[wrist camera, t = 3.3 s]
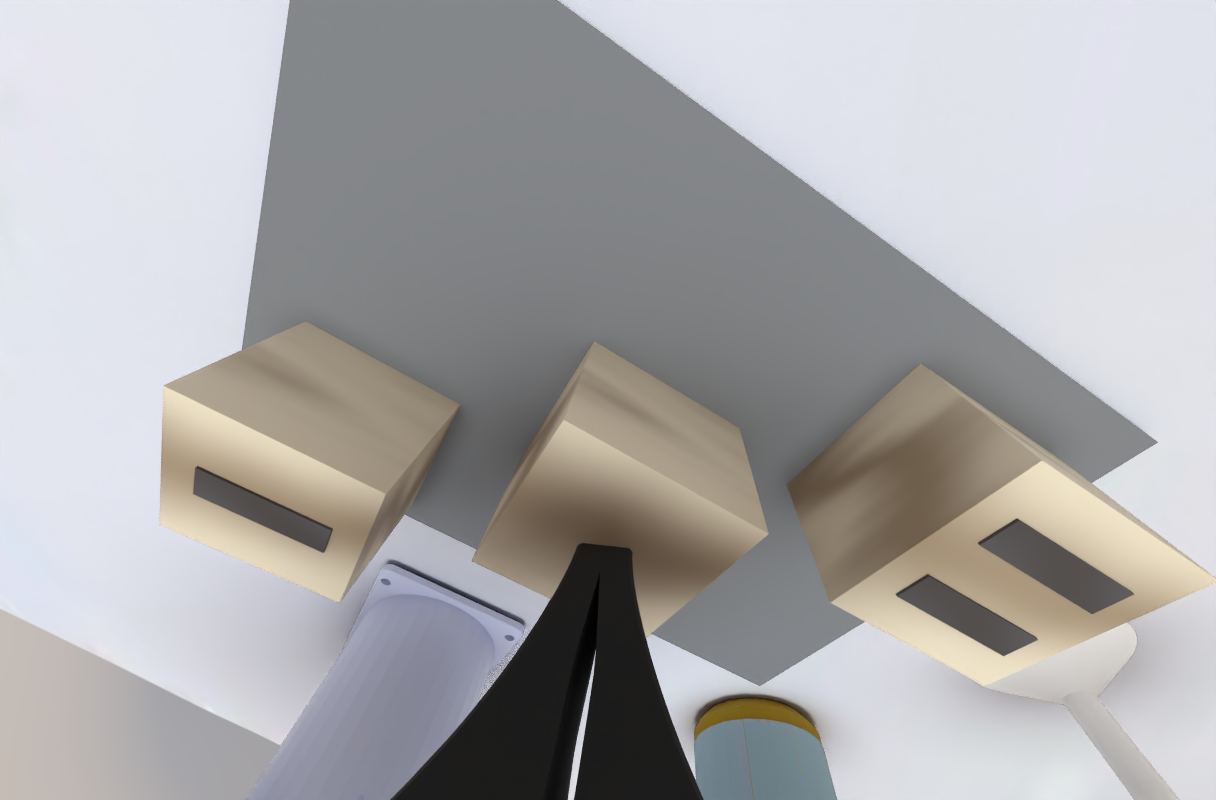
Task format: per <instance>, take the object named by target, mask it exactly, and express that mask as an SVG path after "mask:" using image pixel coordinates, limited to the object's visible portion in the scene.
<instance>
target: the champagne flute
mask: <svg viewBox="0 0 1216 800" xmlns="http://www.w3.org/2000/svg"><path fill="white" fill-rule="evenodd" d="M1136 646H1137V635H1136V633H1135V631H1134V629H1133V627H1132V626H1131V625H1130V624H1128V623H1124V624H1122V625H1120V626H1118V627H1116V628H1113V629H1111V630H1109V631H1107V632H1104V633H1102V634H1100V635H1098V636H1095V637H1093V638H1091V639H1089V640H1087V641H1084V642H1082V643H1080V644H1078V645H1075V646H1073V647H1071V648H1069V649H1066V650H1064V651H1062V652H1060V653H1058V654H1055V655H1053V656H1051V657H1049V658H1046V659H1044V660H1042V661H1040V662H1037V663H1035V664H1033V665H1031V666H1029V667H1026V668H1024V669H1022V670H1020V671H1017V672H1015V673H1013V674H1011V675H1008V676H1006V677H1004V678H1002V679H1000V680H997V681H995V682H993V683H991V684H988V685H986V686H984V687H986V688H989V689H992V690H995V691H999V692H1004V693H1009V694H1014V695H1018V696H1023V697H1028V698H1033V699H1038V700H1043V701H1048V702H1053V703H1058V704H1063V705H1065V706H1066V707H1067V709H1068V710H1069V711H1070V713H1071V714H1072V715H1073V717H1074V718H1075V719H1076V721H1077V722H1078V724H1079V725H1080V726H1081V728H1082V729H1083V730H1084V732H1085V733H1086V735H1087V736H1088V737H1089V739H1090V740H1091V741H1092V743H1093V744H1094V745H1095V747H1096V748H1097V750H1098V751H1099V752H1100V754H1101V755H1102V756H1103V758H1104V759H1105V760H1106V762H1107V763H1108V765H1109V766H1110V767H1111V769H1112V770H1113V771H1114V773H1115V774H1116V776H1117V777H1118V778H1119V780H1120V781H1121V782H1122V784H1123V785H1124V786H1125V788H1126V789H1127V791H1128V792H1129V793H1130V795H1131V796H1132V797H1133V799H1134V800H1180V799H1179V798H1178V797H1177V796H1176V794H1175V793H1174V792H1173V791H1172V789H1171V788H1170V787H1169V786H1168V784H1167V783H1166V782H1165V781H1164V779H1163V778H1162V777H1161V776H1160V774H1159V773H1158V772H1157V771H1156V769H1155V768H1154V767H1153V766H1152V764H1151V763H1150V762H1149V761H1148V760H1147V758H1146V757H1145V756H1144V755H1143V753H1142V752H1141V751H1140V750H1139V748H1138V747H1137V746H1136V745H1135V743H1134V742H1133V741H1132V740H1131V738H1130V737H1129V736H1128V735H1127V733H1126V732H1125V731H1124V730H1123V728H1122V727H1121V726H1120V725H1119V723H1118V722H1117V721H1116V720H1115V718H1114V717H1113V716H1112V715H1111V713H1110V712H1109V711H1108V710H1107V708H1106V707H1105V706H1104V705H1103V703H1102V702H1101V701H1100V700H1099V698H1098V696H1099V695H1100V694H1101V693H1102V691H1103V690H1104V689H1105V688H1106V686H1107V685H1108V684H1109V683H1110V682H1111V680H1112V679H1113V678H1114V677H1115V676H1116V674H1117V673H1118V672H1119V671H1120V670H1121V668H1122V667H1123V666H1124V665H1125V664H1126V662H1127V661H1128V660H1129V659H1130V657H1131V656H1132V655H1133V653H1134V651H1135V648H1136ZM970 679H971V678H970ZM973 681H974V680H973ZM974 682H976V681H974ZM976 683H977V684H979V685H982V684H980V683H978V682H976ZM982 686H983V685H982Z"/></svg>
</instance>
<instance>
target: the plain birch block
mask: <svg viewBox="0 0 1216 800" xmlns="http://www.w3.org/2000/svg"><path fill="white" fill-rule="evenodd" d="M768 534H769V533H768V530H767V526H766V522H765V519H764V515H763V511H762V508H761V504H760V500H759V497H758V493H757V490H756V486H755V482H754V479H753V475H752V471H751V468H750V464H749V461H748V457H747V453H746V450H745V446H744V442H743V439H742V435H741V432H740V428H739V427H737V426H735V425H734V424H732V423H730V422H729V421H727V420H725V419H724V418H722V417H720V416H719V415H717V414H715V413H714V412H712V411H710V410H709V409H707V408H705V407H704V406H702V405H700V404H699V403H697V402H695V401H694V400H692V399H690V398H689V397H687V396H685V395H684V394H682V393H680V392H679V391H677V390H675V389H674V388H672V387H670V386H669V385H667V384H665V383H664V382H662V381H660V380H659V379H657V378H655V377H654V376H652V375H650V374H649V373H647V372H645V371H644V370H642V369H640V368H639V367H637V366H635V365H634V364H632V363H630V362H628V361H627V360H625V359H623V358H622V357H620V356H618V355H617V354H615V353H613V352H612V351H610V350H608V349H607V348H605V347H603V346H602V345H600V344H598V343H597V342H595V341H594V342H593V344H592V345H591V347H590V349H589V350H588V352H587V353H586V355H585V357H584V358H583V360H582V361H581V363H580V365H579V366H578V368H577V369H576V371H575V373H574V374H573V376H572V378H571V379H570V381H569V382H568V384H567V386H566V387H565V389H564V390H563V392H562V394H561V395H560V397H559V398H558V400H557V402H556V403H555V405H554V406H553V408H552V410H551V411H550V413H549V414H548V416H547V418H546V419H545V421H544V422H543V424H542V426H541V427H540V429H539V430H538V432H537V434H536V435H535V437H534V438H533V440H532V442H531V443H530V445H529V446H528V448H527V450H526V451H525V453H524V454H523V456H522V458H521V459H520V461H519V463H518V465H517V467H516V470H515V472H514V474H513V476H512V478H511V480H510V482H509V484H508V486H507V488H506V490H505V492H504V494H503V497H502V499H501V501H500V503H499V505H498V507H497V509H496V511H495V513H494V515H493V517H492V519H491V521H490V524H489V526H488V528H487V530H486V532H485V534H484V536H483V538H482V540H481V542H480V544H479V546H478V548H477V551H476V553H475V555H474V557H473V559H472V562H475V563H477V564H479V565H481V566H483V567H485V568H487V569H489V570H491V571H493V572H496V573H498V574H500V575H502V576H504V577H506V578H508V579H510V580H512V581H514V582H516V583H519V584H521V585H523V586H525V587H527V588H529V589H531V590H533V591H535V592H537V593H540V594H542V595H544V596H546V597H548V598H550V599H551V598H552V596H553V595H554V593H555V591H556V589H557V588H558V586H559V584H560V582H561V580H562V578H563V576H564V574H565V572H566V571H567V568H568V566H569V564H570V562H571V560H572V558H573V555H574V553H575V551H576V548H577V545H579V544H581V543H588V544H597V545H606V546H616V547H625V548H629V549H630V550H631V551H632V552H633V555H632V561H633V576H634V584H635V590H636V596H637V602H638V607H639V611H640V616H641V620H642V624H643V629H644V633H645V637H648V636H649V635H650V634H651V633H652V632H654V631H655V630H656V629H657V628H658V627H659V626H661V625H662V624H663V623H664V622H665V621H667V620H668V619H669V618H670V617H671V616H672V615H674V614H675V613H676V612H677V611H678V610H680V609H681V608H682V607H683V606H684V605H685V604H687V603H688V602H689V601H690V600H691V599H693V598H694V597H695V596H696V595H697V594H698V593H700V592H701V591H702V590H703V589H704V588H706V587H707V586H708V585H709V584H710V583H711V582H713V581H714V580H715V579H716V578H717V577H719V576H720V575H721V574H722V573H723V572H724V571H726V570H727V569H728V568H729V567H730V566H732V565H733V564H734V563H735V562H736V561H737V560H739V559H740V558H741V557H742V556H743V555H745V554H746V553H747V552H748V551H749V550H750V549H752V548H753V547H754V546H755V545H756V544H757V543H759V542H760V541H761V540H762V539H763V538H765V537H766V536H767V535H768Z"/></svg>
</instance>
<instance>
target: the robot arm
mask: <svg viewBox="0 0 1216 800" xmlns="http://www.w3.org/2000/svg"><path fill="white" fill-rule="evenodd" d="M632 555H633V552H632V551H631V550H630V549H629V548H625V547H616V546H606V545H597V544H588V543H581V544H579V545H577V548H576V551H575V553H574V555H573V558H572V560H571V562H570V564H569V566H568V568H567V571H566V572H565V574H564V576H563V578H562V580H561V582H560V584H559V586H558V588H557V589H556V591H555V593H554V595H553V596H552V598H551V600H550V601H549V603H548V605H547V606H546V608H545V610H544V611H543V613H542V615H541V616H540V618H539V620H538V621H537V623H536V624H535V626H534V627H533V629H532V630H531V632H530V633H529V635H528V636H527V638H526V639H525V641H524V642H523V644H522V645H521V647H520V648H519V650H518V651H517V653H516V654H515V655H514V657H513V658H512V660H511V661H510V662H509V664H508V665H507V666H506V668H505V669H504V670H503V672H502V673H501V674H500V676H499V677H498V678H497V680H496V681H495V682H494V684H493V685H492V686H491V687H490V689H489V690H488V691H487V693H486V694H485V695H484V696H483V698H482V699H481V700H480V701H479V698H480V695H481V692H482V689H483V686H484V683H485V681H486V678H487V675H488V674H489V673H490V672H491V671H492V670H493V669H494V667H495V666H496V665H497V664H498V663H499V662H500V661H501V660H502V658H503V657H504V656H505V655H506V654H507V653H508V652H509V651H510V649H511V648H512V647H513V646H514V645H515V644H516V643H517V642H518V640H519V639H520V638H521V637H522V635H523V632H524V626H523V625H522V624H521V623H519V622H517V621H515V620H513V619H511V618H508V617H506V616H504V615H502V614H500V613H498V612H495V611H493V610H491V609H489V608H487V607H485V606H482V605H480V604H478V603H476V602H474V601H471V600H469V599H467V598H465V597H463V596H461V595H458V594H456V593H454V592H452V591H450V590H448V589H445V588H443V587H441V586H439V585H437V584H435V583H432V582H430V581H428V580H426V579H424V578H422V577H419V576H417V575H415V574H413V573H411V572H409V571H406V570H404V569H402V568H400V567H398V566H396V565H393V564H386V565H384V566H383V567H382V569H381V570H380V572H379V574H378V576H377V578H376V580H375V582H374V584H373V586H372V588H371V591H370V593H369V595H368V597H367V599H366V601H365V603H364V605H363V607H362V609H361V611H360V613H359V616H358V618H357V620H356V622H355V624H354V626H353V628H352V630H351V632H350V634H349V636H348V639H347V641H346V643H345V645H344V647H343V651H342V653H341V654H340V656H339V657H338V659H337V660H336V662H335V663H334V665H333V667H332V668H331V670H330V671H329V673H328V674H327V676H326V677H325V679H324V680H323V682H322V683H321V685H320V686H319V688H318V689H317V691H316V692H315V694H314V696H313V697H312V699H311V700H310V702H309V703H308V705H307V706H306V708H305V709H304V711H303V712H302V714H301V715H300V717H299V718H298V720H297V721H296V723H295V725H294V726H293V728H292V729H291V731H290V732H289V734H288V735H287V737H286V738H285V740H284V741H283V743H282V744H281V746H280V747H279V749H278V750H277V752H276V754H275V755H274V757H273V758H272V760H271V761H270V763H269V764H268V766H267V767H266V769H265V770H264V772H263V773H262V775H261V776H260V778H259V779H258V781H257V783H256V784H255V786H254V787H253V789H252V790H251V792H250V793H249V795H248V796H247V798H246V799H245V800H568V793H569V786H570V778H571V771H572V764H573V757H574V752H575V746H576V740H577V735H578V730H579V726H580V721H581V716H582V712H583V707H584V702H585V698H586V693H587V689H588V684H589V679H590V675H591V670H592V665H593V661H594V656H595V651H596V657H595V667H594V676H593V683H592V689H591V696H590V702H589V709H588V716H587V722H586V728H585V735H584V741H583V747H582V754H581V760H580V767H579V773H578V779H577V785H576V791H575V797H574V800H704V799H703V797H702V795H701V792H700V790H699V787H698V785H697V783H696V780H695V778H694V776H693V773H692V771H691V768H690V766H689V764H688V761H687V759H686V757H685V754H684V752H683V749H682V747H681V744H680V741H679V739H678V736H677V733H676V731H675V728H674V725H673V723H672V720H671V717H670V714H669V711H668V709H667V706H666V703H665V700H664V697H663V694H662V691H661V688H660V685H659V682H658V679H657V676H656V672H655V669H654V666H653V662H652V659H651V655H650V652H649V648H648V644H647V641H646V637H645V633H644V629H643V624H642V620H641V616H640V611H639V607H638V602H637V596H636V590H635V584H634V576H633V561H632ZM478 701H479V702H478Z"/></svg>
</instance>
